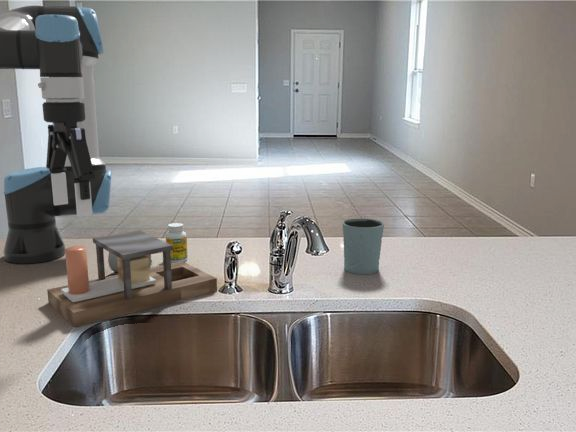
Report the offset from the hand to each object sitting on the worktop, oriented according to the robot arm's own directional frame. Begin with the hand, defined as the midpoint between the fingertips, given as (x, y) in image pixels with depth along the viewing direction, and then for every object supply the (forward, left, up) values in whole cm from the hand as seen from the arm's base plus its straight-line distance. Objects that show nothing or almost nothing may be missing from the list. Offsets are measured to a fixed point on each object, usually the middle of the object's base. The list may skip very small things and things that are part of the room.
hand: (72, 210), depth 117 cm
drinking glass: (+17, +65, -21) cm, 71 cm away
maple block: (0, +12, -17) cm, 21 cm away
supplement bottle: (-18, +32, -21) cm, 43 cm away
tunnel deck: (0, +12, -21) cm, 24 cm away
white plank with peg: (0, +7, -18) cm, 19 cm away
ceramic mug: (-17, +19, -22) cm, 34 cm away
